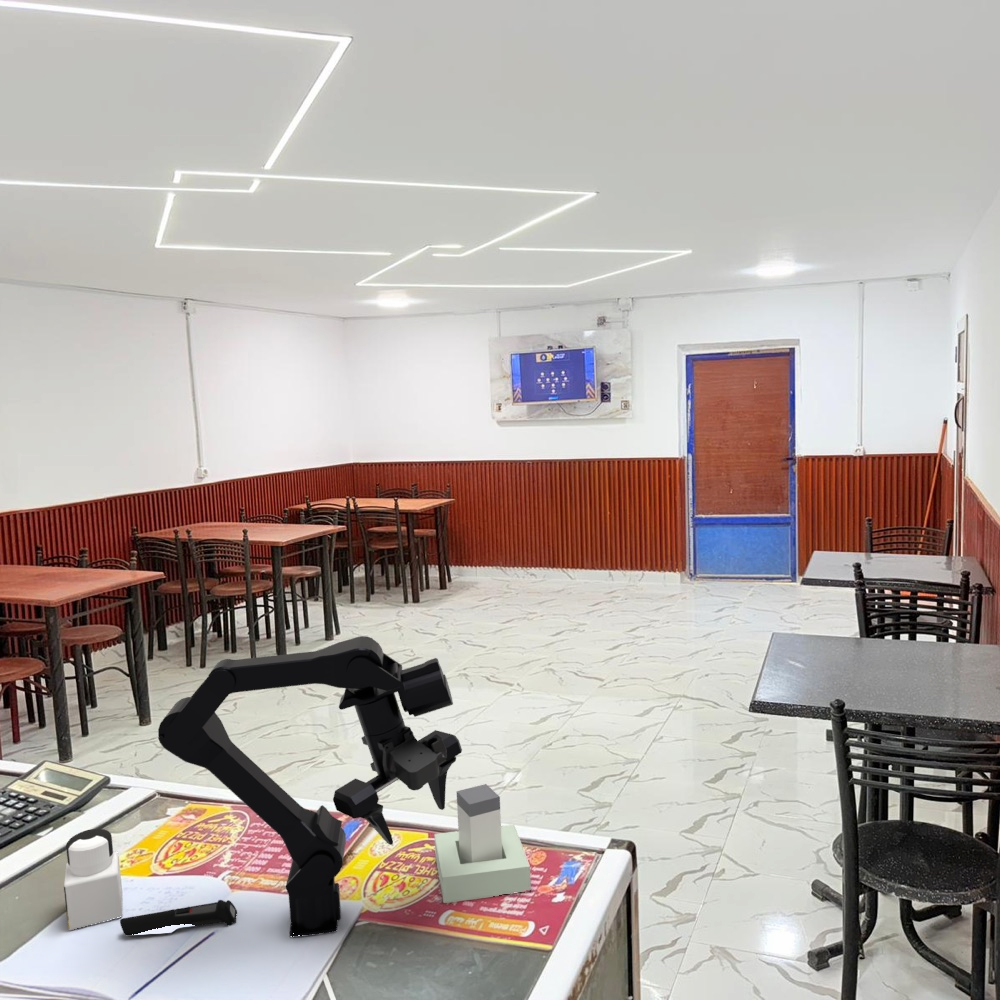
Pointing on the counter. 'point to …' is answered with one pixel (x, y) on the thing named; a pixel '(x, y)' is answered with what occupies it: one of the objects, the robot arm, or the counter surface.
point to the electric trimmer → (182, 917)
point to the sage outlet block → (481, 869)
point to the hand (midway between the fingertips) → (416, 825)
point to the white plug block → (479, 824)
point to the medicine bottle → (92, 879)
